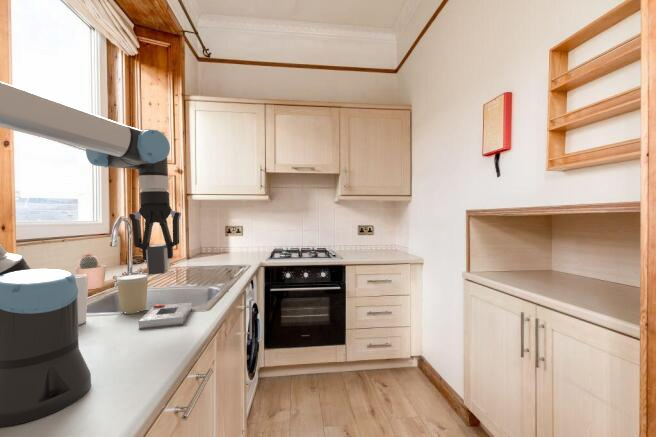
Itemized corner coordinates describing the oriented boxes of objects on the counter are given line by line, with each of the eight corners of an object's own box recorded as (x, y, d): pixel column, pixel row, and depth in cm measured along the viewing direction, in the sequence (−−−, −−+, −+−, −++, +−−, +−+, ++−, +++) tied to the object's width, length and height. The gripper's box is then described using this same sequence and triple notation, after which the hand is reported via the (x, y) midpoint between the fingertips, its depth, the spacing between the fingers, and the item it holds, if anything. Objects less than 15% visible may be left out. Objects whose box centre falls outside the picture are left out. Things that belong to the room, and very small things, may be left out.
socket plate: (182, 324, 94) (182, 315, 94) (138, 329, 91) (138, 319, 91) (191, 309, 110) (191, 300, 110) (154, 312, 106) (154, 303, 106)
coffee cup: (154, 306, 113) (153, 274, 113) (134, 315, 104) (133, 280, 104) (132, 305, 115) (131, 273, 114) (110, 314, 105) (109, 279, 105)
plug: (163, 273, 89) (162, 246, 88) (148, 274, 88) (147, 246, 88) (168, 270, 94) (167, 244, 93) (154, 271, 93) (152, 244, 92)
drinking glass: (56, 329, 92) (54, 279, 92) (69, 321, 99) (67, 275, 98) (82, 326, 94) (80, 277, 94) (93, 319, 100) (92, 273, 100)
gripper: (188, 191, 95) (192, 265, 96) (127, 192, 91) (131, 269, 93) (182, 189, 88) (187, 270, 89) (115, 191, 84) (121, 275, 85)
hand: (159, 269), depth 91 cm, fingers closed on plug, 4 cm apart
